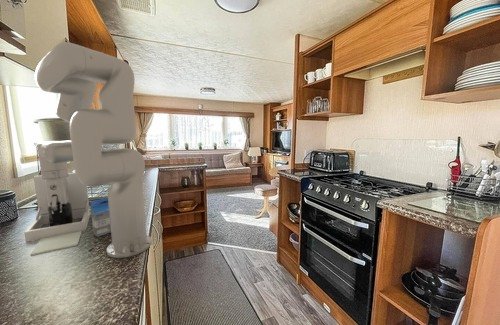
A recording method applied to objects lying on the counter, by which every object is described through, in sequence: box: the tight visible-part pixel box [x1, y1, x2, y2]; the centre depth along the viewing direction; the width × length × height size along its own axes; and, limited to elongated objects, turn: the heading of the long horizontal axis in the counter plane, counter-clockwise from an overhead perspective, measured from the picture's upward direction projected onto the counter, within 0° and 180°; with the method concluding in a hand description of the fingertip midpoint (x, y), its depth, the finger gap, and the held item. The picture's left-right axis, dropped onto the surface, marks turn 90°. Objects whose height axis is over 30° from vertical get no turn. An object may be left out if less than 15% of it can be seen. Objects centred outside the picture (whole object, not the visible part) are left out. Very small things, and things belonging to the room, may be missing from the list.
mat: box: [30, 231, 83, 257], centre depth 71 cm, size 11×11×1 cm
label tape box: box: [89, 197, 111, 238], centre depth 78 cm, size 9×4×12 cm, turn 143°
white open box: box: [24, 172, 91, 243], centre depth 82 cm, size 18×16×20 cm
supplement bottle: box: [48, 202, 74, 227], centre depth 82 cm, size 7×7×12 cm
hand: (61, 219), depth 82 cm, fingers closed on supplement bottle, 6 cm apart
